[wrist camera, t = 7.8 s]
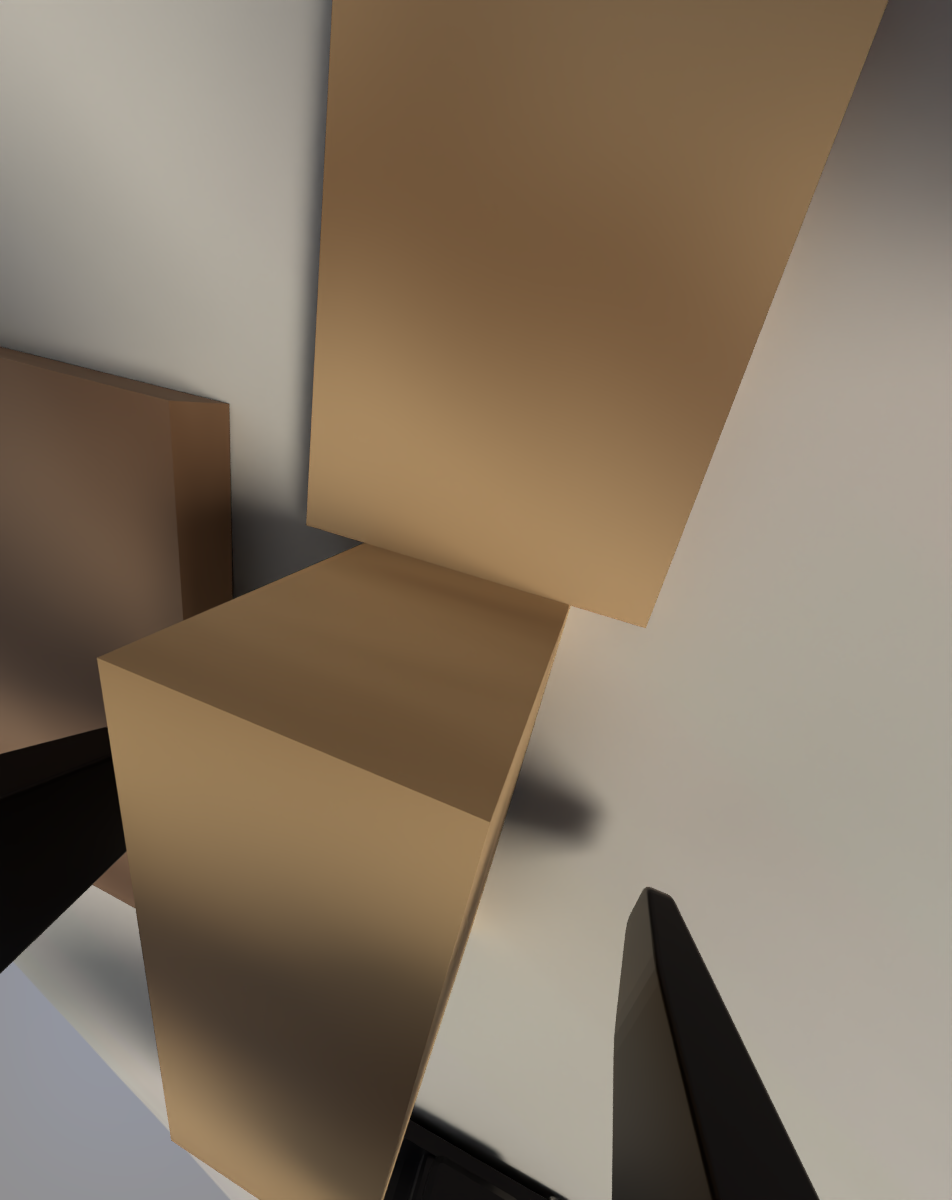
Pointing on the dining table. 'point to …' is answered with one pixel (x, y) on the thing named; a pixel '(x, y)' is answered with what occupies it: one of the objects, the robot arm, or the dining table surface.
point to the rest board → (99, 537)
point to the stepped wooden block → (450, 524)
